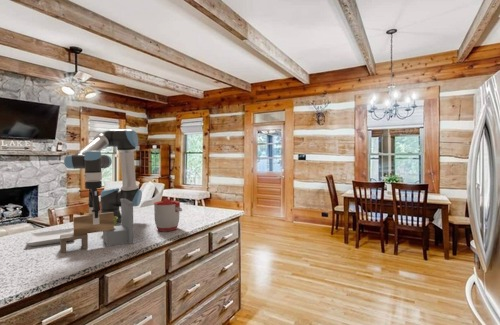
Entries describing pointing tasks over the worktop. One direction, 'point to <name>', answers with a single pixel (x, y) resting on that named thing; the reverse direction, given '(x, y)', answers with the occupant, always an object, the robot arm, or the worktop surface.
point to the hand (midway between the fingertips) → (94, 221)
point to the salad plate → (47, 237)
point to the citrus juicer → (167, 214)
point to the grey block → (122, 226)
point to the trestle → (73, 237)
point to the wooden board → (86, 226)
